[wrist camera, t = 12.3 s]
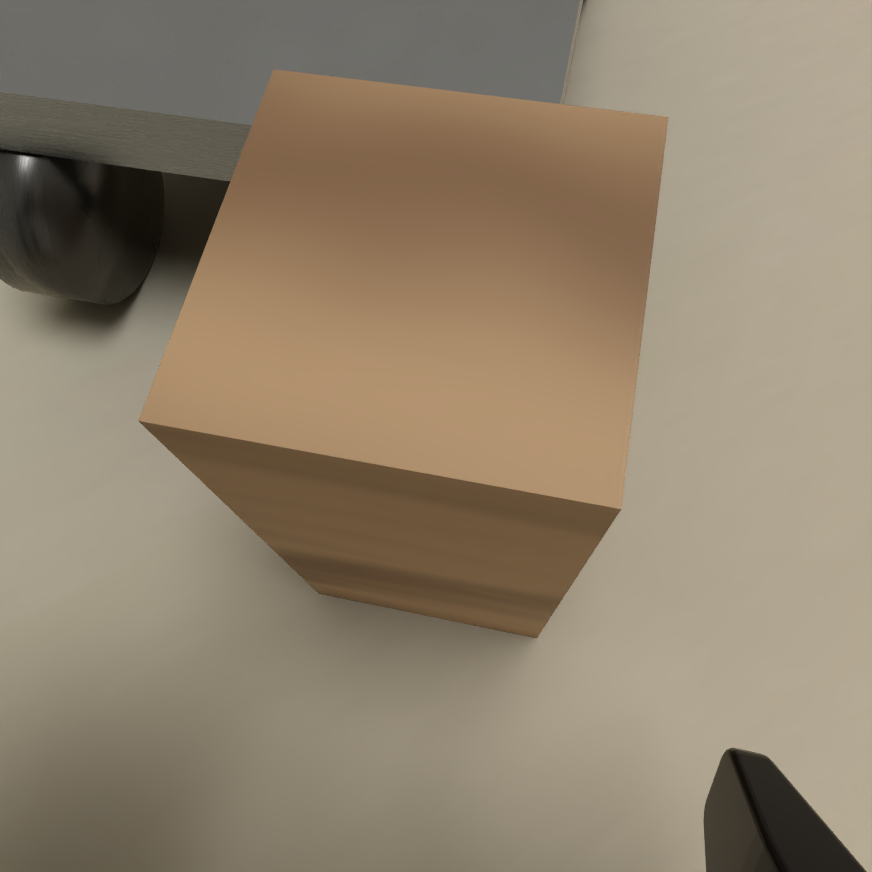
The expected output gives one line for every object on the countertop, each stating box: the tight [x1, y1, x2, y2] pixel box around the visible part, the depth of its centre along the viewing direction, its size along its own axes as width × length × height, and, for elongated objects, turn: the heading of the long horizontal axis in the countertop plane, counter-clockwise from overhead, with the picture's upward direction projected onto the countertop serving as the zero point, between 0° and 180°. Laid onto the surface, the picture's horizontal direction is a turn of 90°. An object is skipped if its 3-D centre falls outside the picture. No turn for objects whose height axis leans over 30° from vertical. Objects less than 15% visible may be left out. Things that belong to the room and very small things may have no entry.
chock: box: [139, 69, 668, 638], centre depth 16 cm, size 6×6×12 cm
